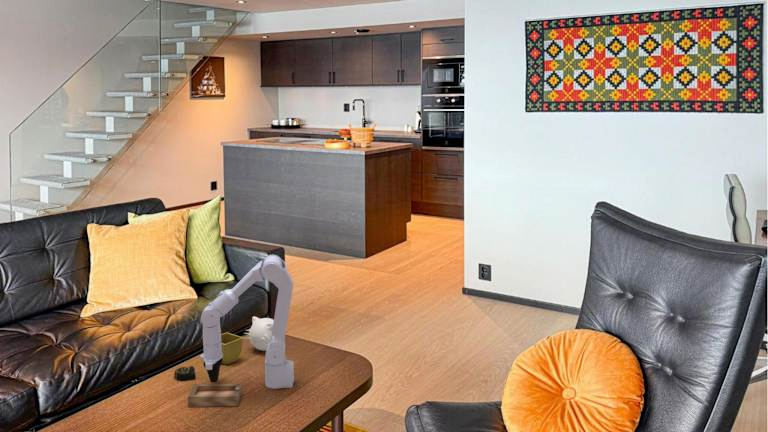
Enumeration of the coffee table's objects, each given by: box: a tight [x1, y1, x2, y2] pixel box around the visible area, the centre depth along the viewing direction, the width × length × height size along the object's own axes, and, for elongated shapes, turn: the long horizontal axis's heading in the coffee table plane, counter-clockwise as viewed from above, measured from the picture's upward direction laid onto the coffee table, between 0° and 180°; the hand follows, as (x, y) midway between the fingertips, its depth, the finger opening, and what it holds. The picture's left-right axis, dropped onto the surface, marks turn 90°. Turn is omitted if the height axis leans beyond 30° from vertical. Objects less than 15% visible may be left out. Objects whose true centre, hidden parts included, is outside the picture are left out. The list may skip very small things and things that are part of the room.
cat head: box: [243, 316, 274, 352], centre depth 253 cm, size 15×13×12 cm
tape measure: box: [173, 365, 197, 382], centre depth 228 cm, size 7×7×4 cm
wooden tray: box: [187, 383, 243, 408], centre depth 211 cm, size 15×9×4 cm, turn 93°
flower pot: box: [221, 332, 244, 366], centre depth 242 cm, size 9×9×9 cm
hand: (214, 381), depth 221 cm, fingers closed
